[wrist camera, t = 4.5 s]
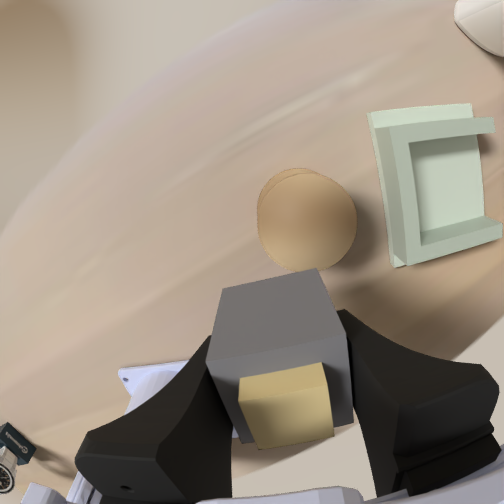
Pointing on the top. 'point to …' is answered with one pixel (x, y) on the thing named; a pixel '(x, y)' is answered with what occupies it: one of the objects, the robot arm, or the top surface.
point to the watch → (12, 456)
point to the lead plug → (281, 361)
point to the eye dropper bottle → (482, 23)
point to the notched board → (431, 180)
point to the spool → (305, 220)
